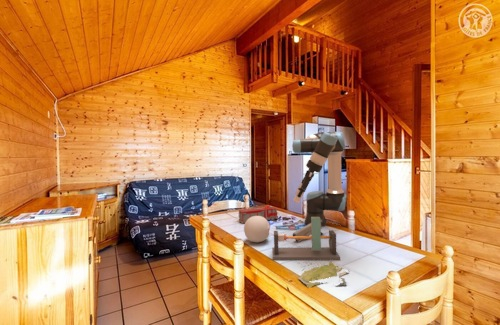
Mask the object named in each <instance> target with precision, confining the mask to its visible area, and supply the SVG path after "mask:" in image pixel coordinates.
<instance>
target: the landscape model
mask: <svg viewBox="0 0 500 325" xmlns="http://www.w3.org/2000/svg"><path fill="white" fill-rule="evenodd" d="M343 269H344V267H341V266H340V267H339V265H336V264H335V263H334V262H332V261H330V262H328V264H325V265H320V266H316V267H313V268H311V269H309V270H304V272H303V273H302V274H301V275H299V276H297V278H298V280H300V281H301V282H302V283H303V284H304V285H306V287H307V288H312V287H314V286H317V285H321V284H322V285H324V284H328V282H324V281H323V282H322V281H320V280H326V278H327V279H330V278H334V277H338V279H341V282H340V283H339V284H338V285H337V287H340V286H344V287H345V286H347V282H346V280H345V278H343V277H341V276H344V275H345V274H348V273H351V271H350V270H349V269H347V272H346V271H343ZM341 271H343V272H341ZM329 277H330V278H329ZM309 281H311V282H309ZM314 281H315V282H314ZM318 281H319V282H318ZM333 285H334V284H333ZM334 286H335V285H334Z"/></svg>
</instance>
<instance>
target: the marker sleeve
mask: <svg viewBox="0 0 500 325" xmlns="http://www.w3.org/2000/svg"><path fill="white" fill-rule="evenodd" d="M321 230H322V229H321V222H320V217H311V233H312V235H311V236H312V239H311V247H312V249H313V250H321V247H322V239H321V232H322V231H321Z"/></svg>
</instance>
